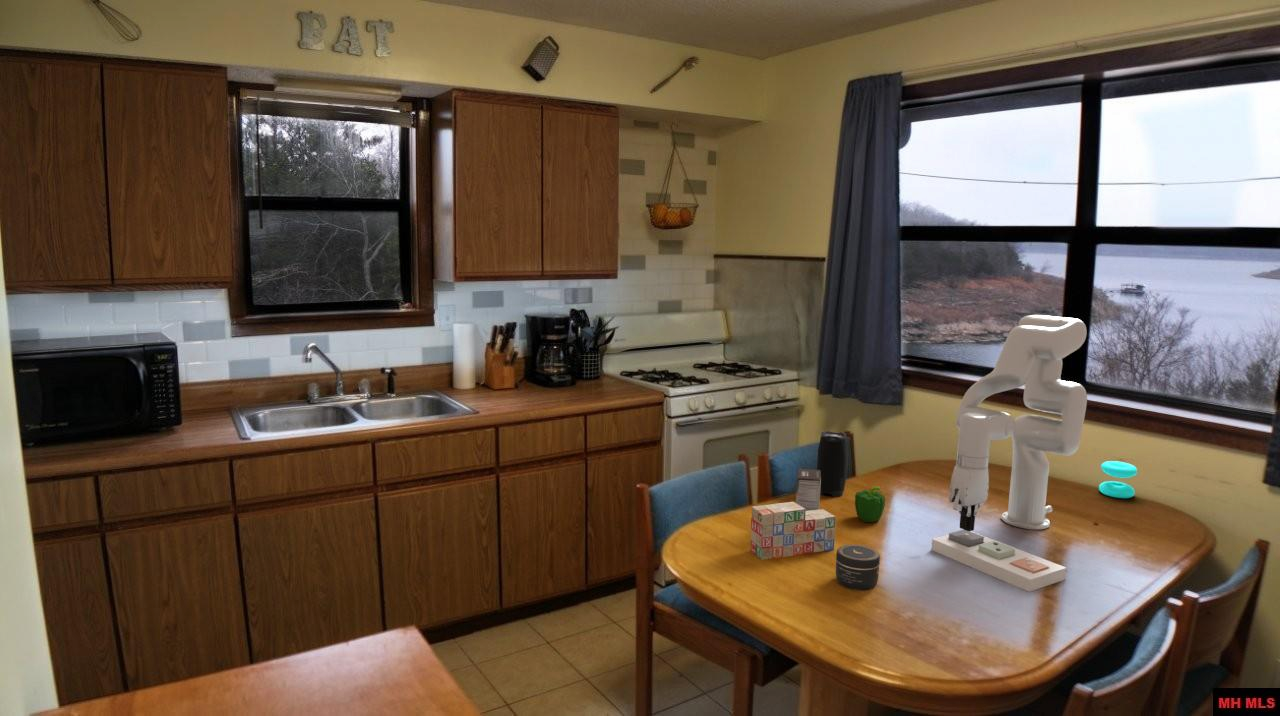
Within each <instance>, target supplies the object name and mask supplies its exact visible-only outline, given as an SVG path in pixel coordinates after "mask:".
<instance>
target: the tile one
mask: <svg viewBox="0 0 1280 716" xmlns="http://www.w3.org/2000/svg"><path fill="white" fill-rule="evenodd" d="M972 532H973V531H972ZM972 532H970V531H966V530H964V529H960V530H957V531H953V532H949V533H948V535H949V540H952V541H954V542H957V543H959V544H962V545H964V546H966V547H971V546H975V545H978V544H982V543H983V542H984V537H983V536H984V535H983V536H980V535H981V534H980V535H978V534H979V533H977V534H975V533H976V532H975V533H972Z"/></svg>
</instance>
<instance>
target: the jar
mask: <svg viewBox="0 0 1280 716" xmlns="http://www.w3.org/2000/svg"><path fill="white" fill-rule="evenodd" d="M880 557H881V555H880V553H879V552H878V551H877V550H876V549H874V548H872V547H869V546H866V545H863V544H845V545H841V546H839V547H838V548H837V550H836V556H835V561H836V562H835V577H836V580H837V582H838V583H839V584H840V586H842V587H845V588H848V589H849V590H850V589H851V590H856V591H869V590H871V589H874V588H875V586H876V585H877V583H878V581H879V574H880V572H879V571H880V564H881V562H880V561H881V558H880Z"/></svg>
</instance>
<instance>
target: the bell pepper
mask: <svg viewBox="0 0 1280 716" xmlns="http://www.w3.org/2000/svg"><path fill="white" fill-rule="evenodd" d="M875 490H877V491H875ZM880 490H881V487H880V486H876V485H875V486H873V487H871V488H870V490H869V491H868V490H866V489H863V490H861V491H857V492H856V493H855V496H854V506H855V512H856V515H857V517H858V519H860V520H862V522H864V523H865V522H866V523H874V522H876V521H880V520H881V518H882V516H883V513H884V510H885V506H886V498H885V495H883V493H882V492H880Z"/></svg>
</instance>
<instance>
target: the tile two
mask: <svg viewBox="0 0 1280 716" xmlns="http://www.w3.org/2000/svg"><path fill="white" fill-rule="evenodd" d="M996 541H997V540H996ZM996 541H992V542H988V543H985V544H981V545H979V549H978V551H979V552H981V553H984V554H986V555H989V556H991V557H994V558H996V559H999V560H1001V559H1005V558H1008V557H1011V556H1015V549H1014V548H1015V547H1014V548H1011V547H1012V546H1011V547H1009V546H1010V545H1009V546H1006V545H1007V544H1006V545H1004V544H1005V543H1003V544H1001V543H1002V542H1001V543H998V542H999V541H998V542H996Z"/></svg>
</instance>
